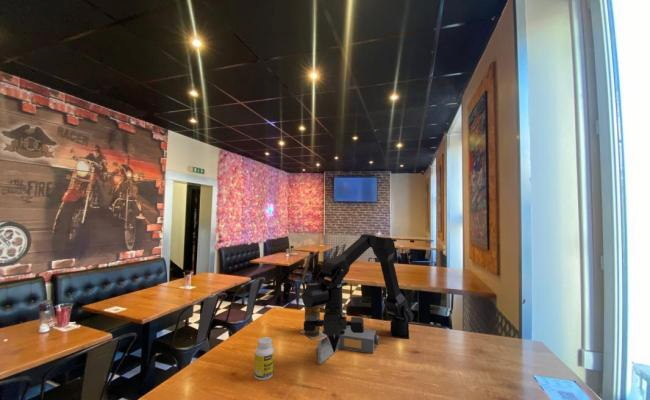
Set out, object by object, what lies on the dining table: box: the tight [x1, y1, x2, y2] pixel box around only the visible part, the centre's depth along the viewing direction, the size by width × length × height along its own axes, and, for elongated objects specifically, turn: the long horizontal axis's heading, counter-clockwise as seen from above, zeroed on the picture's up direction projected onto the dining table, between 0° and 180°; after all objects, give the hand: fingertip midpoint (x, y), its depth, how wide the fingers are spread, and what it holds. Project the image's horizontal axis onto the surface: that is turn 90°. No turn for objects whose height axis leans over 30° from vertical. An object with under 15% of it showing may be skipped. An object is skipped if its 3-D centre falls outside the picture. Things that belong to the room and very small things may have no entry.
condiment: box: [299, 306, 326, 340], centre depth 105 cm, size 7×8×12 cm
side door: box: [316, 335, 339, 365], centre depth 87 cm, size 11×2×7 cm, turn 148°
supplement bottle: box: [253, 336, 275, 381], centre depth 77 cm, size 5×5×10 cm
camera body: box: [337, 327, 380, 354], centre depth 95 cm, size 14×9×7 cm
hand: (334, 351), depth 84 cm, fingers closed
